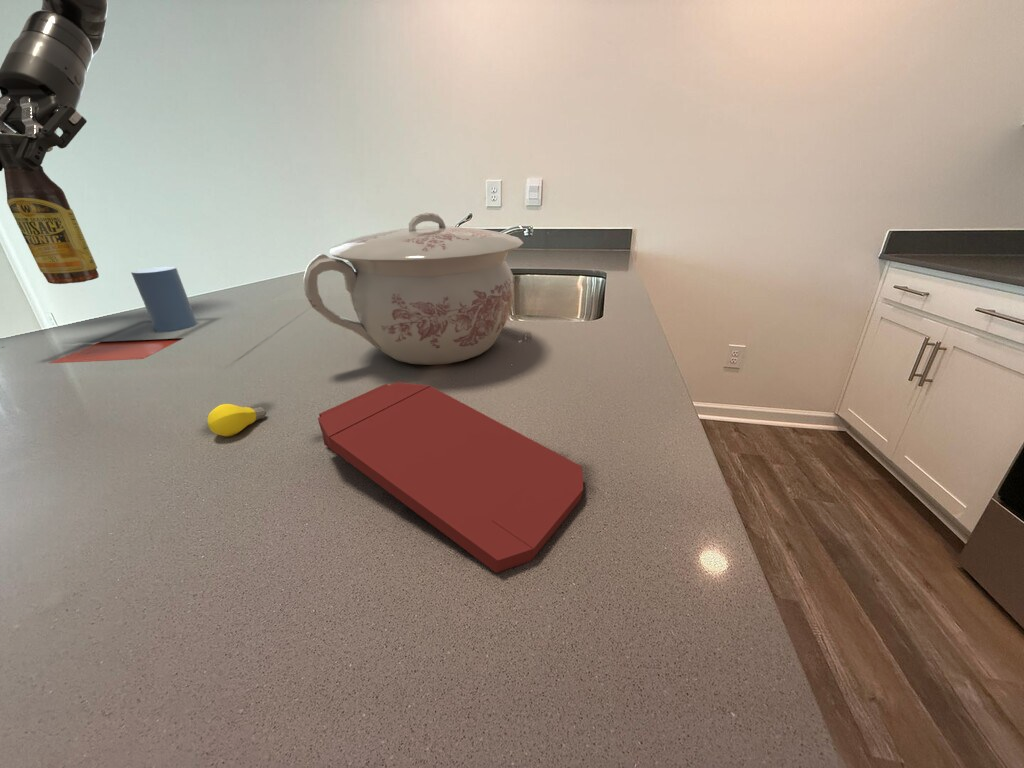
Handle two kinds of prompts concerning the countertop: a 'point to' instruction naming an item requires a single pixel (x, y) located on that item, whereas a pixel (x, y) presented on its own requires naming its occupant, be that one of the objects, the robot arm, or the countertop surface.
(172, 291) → the blue can
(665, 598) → the countertop surface
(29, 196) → the sauce bottle
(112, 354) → the board
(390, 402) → the red chamfered slab
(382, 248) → the chamber pot
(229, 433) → the light bulb
